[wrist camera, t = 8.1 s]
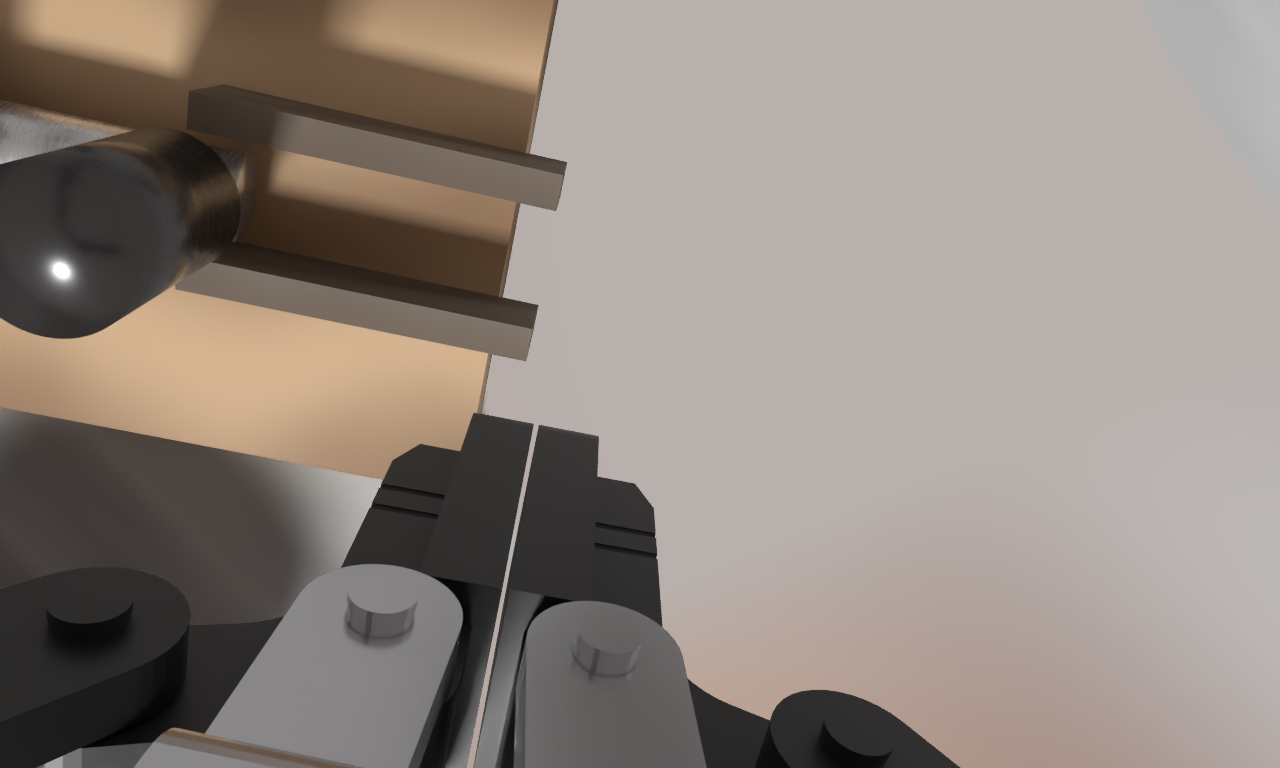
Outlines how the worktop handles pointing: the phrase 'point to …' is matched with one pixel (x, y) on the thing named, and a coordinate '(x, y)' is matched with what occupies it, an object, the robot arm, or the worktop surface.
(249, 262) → the lock plate
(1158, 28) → the worktop surface
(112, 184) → the bolt
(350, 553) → the robot arm
